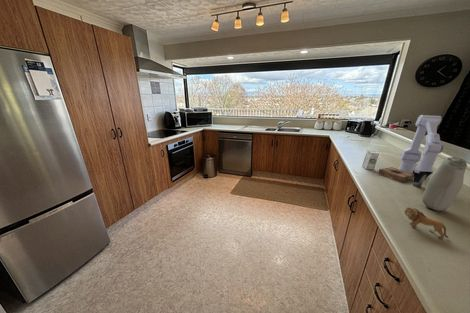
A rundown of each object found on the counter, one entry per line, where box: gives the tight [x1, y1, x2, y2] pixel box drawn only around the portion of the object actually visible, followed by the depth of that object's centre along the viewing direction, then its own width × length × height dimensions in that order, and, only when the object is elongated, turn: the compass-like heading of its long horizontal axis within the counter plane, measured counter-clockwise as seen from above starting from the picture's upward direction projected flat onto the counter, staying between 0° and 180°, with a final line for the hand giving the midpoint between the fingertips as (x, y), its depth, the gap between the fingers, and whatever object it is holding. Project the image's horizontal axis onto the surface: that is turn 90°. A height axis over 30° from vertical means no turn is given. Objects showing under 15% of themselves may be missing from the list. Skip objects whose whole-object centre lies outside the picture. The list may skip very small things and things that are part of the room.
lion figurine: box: [404, 206, 449, 240], centre depth 73 cm, size 15×5×9 cm, turn 51°
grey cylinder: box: [411, 173, 426, 188], centre depth 110 cm, size 4×4×9 cm
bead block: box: [377, 166, 414, 183], centre depth 124 cm, size 14×14×4 cm
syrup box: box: [361, 150, 380, 171], centre depth 135 cm, size 6×6×14 cm
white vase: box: [421, 156, 468, 211], centre depth 84 cm, size 10×10×28 cm
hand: (418, 181), depth 110 cm, fingers open, 5 cm apart
